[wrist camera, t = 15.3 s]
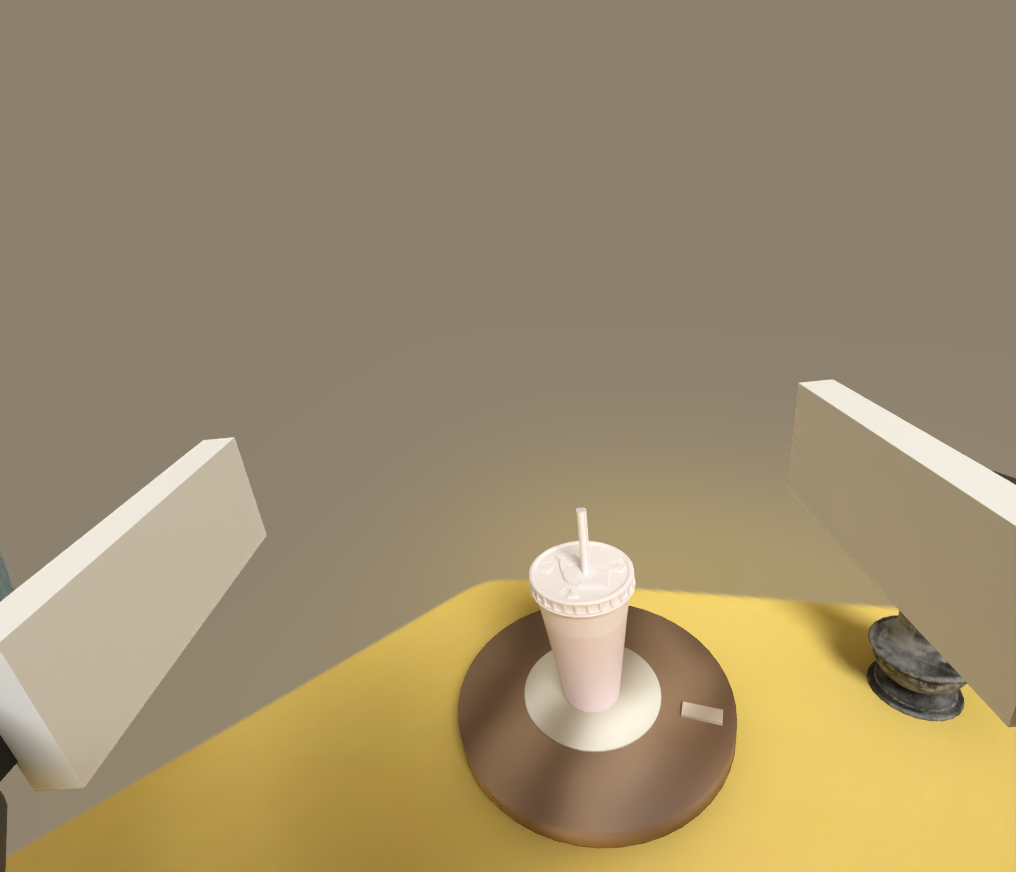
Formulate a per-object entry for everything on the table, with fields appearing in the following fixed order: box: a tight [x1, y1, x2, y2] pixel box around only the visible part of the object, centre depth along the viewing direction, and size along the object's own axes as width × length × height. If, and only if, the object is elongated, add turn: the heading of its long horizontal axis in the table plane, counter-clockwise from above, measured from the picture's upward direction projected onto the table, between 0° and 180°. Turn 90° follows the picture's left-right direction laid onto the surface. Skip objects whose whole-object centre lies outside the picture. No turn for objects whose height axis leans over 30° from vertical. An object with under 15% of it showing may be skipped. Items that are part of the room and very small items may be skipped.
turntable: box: [458, 606, 737, 848], centre depth 37 cm, size 18×18×2 cm
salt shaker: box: [867, 610, 967, 721], centre depth 35 cm, size 6×6×12 cm
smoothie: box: [529, 508, 636, 712], centre depth 35 cm, size 6×6×14 cm
